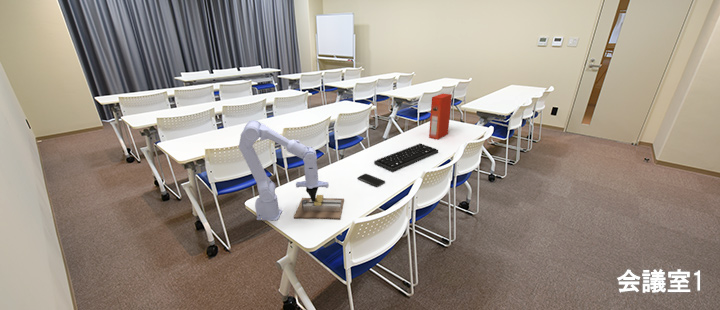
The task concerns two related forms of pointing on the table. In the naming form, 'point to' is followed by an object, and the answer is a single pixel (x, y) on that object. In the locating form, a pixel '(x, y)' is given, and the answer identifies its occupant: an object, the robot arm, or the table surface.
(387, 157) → the computer keyboard
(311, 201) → the bar
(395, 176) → the table surface
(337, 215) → the walnut board
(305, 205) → the fixed tong arm
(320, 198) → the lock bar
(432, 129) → the file binder
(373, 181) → the phone
